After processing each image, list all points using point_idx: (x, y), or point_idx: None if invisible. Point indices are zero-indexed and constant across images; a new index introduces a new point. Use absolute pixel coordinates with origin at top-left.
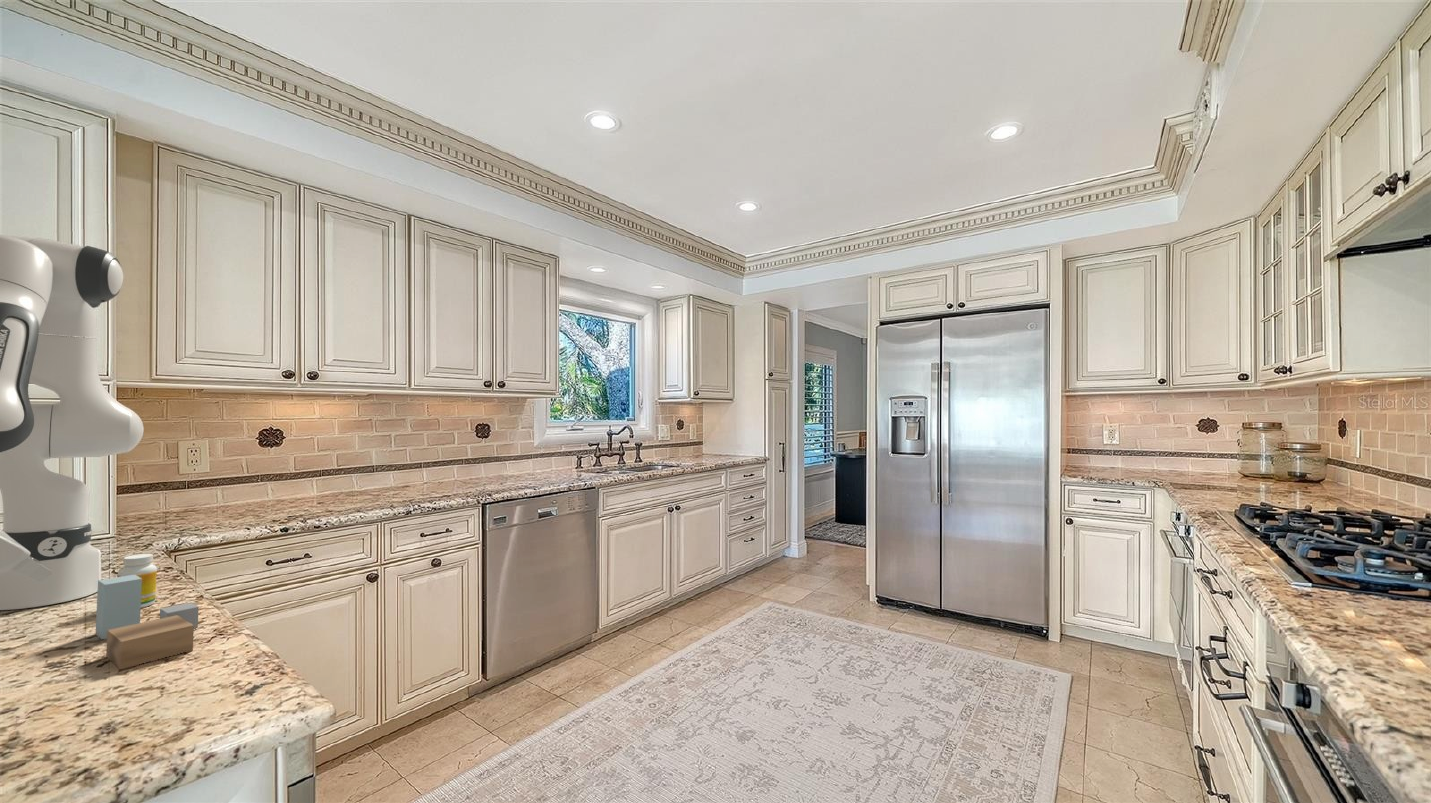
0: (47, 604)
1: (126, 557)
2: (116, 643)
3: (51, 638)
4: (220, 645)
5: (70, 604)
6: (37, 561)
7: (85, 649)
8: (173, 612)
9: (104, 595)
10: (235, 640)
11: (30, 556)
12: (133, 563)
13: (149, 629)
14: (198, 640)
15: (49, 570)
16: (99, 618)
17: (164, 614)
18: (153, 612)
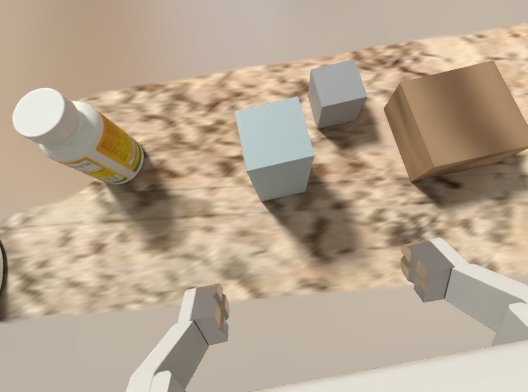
0: (1, 276)
1: (31, 132)
2: (494, 156)
3: (239, 253)
4: (457, 62)
5: (21, 245)
6: (219, 291)
7: (346, 207)
8: (363, 90)
9: (311, 165)
10: (444, 48)
11: (188, 316)
12: (71, 125)
13: (475, 113)
14: None
15: (445, 243)
16: (282, 188)
17: (349, 103)
18: (188, 139)
